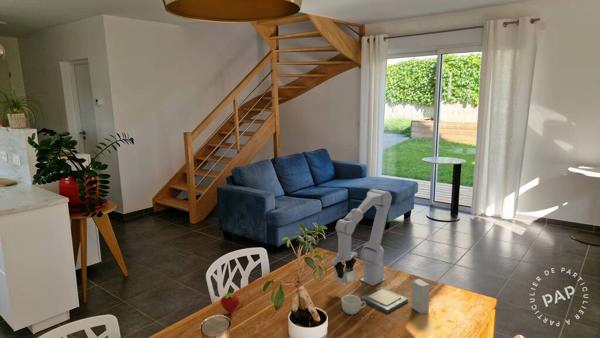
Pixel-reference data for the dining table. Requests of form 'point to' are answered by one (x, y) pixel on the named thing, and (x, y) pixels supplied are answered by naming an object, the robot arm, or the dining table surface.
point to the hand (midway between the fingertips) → (344, 275)
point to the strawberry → (229, 302)
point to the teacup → (351, 304)
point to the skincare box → (420, 296)
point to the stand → (384, 299)
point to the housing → (346, 274)
